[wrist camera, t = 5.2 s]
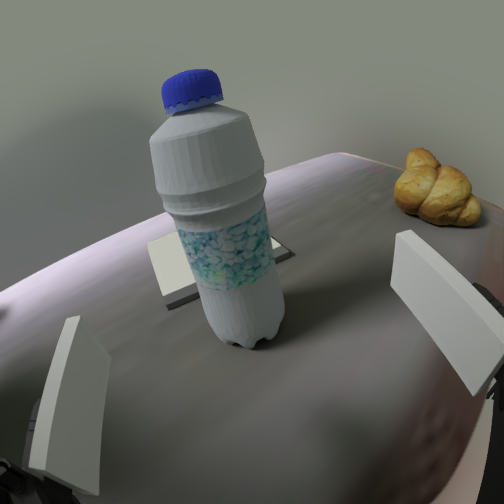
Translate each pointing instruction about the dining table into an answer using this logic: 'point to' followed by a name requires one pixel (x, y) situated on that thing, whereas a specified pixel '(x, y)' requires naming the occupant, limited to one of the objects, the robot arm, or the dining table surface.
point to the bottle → (218, 207)
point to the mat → (183, 268)
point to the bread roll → (435, 191)
